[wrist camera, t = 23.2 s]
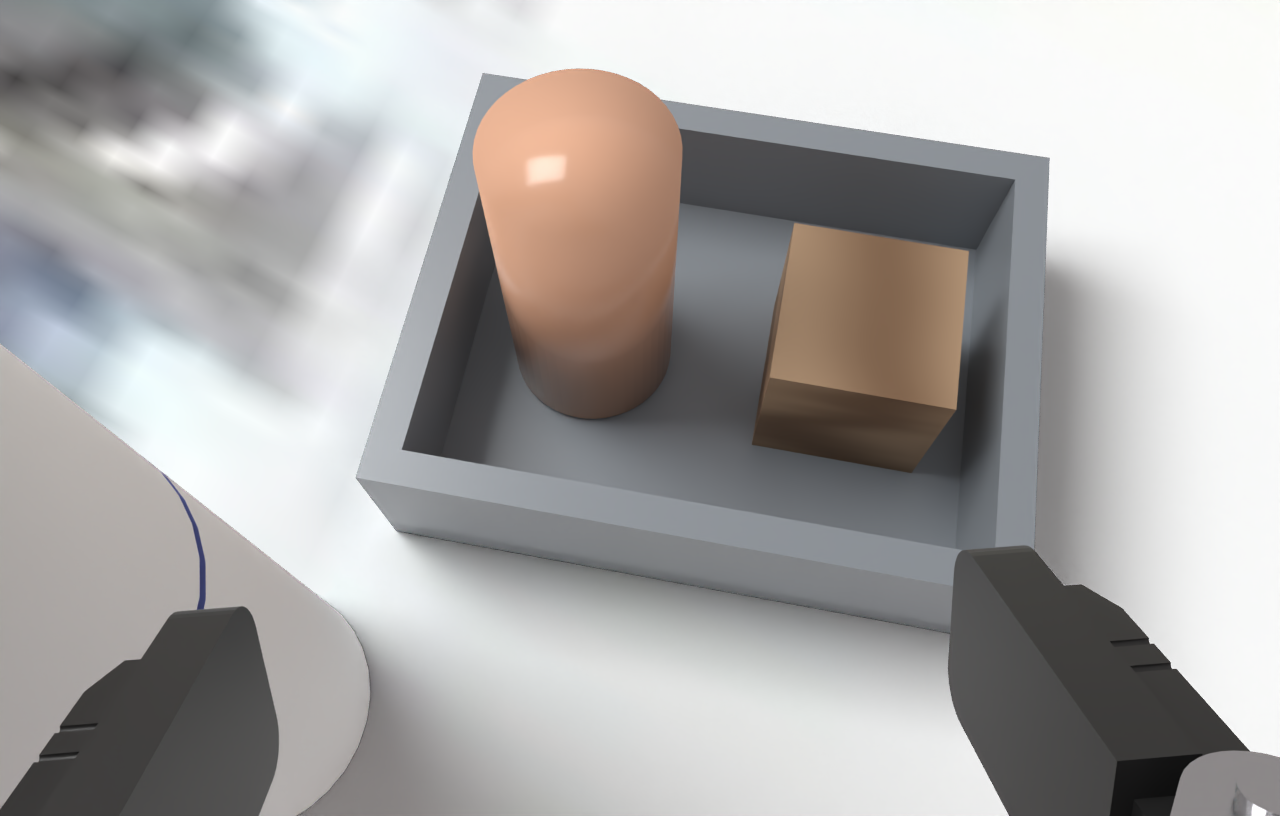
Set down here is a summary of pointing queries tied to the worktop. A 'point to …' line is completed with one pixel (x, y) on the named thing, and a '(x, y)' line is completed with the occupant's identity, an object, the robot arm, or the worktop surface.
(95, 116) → the worktop surface
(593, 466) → the grey tote
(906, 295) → the walnut cube
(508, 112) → the terracotta capsule
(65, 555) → the cylindrical container
